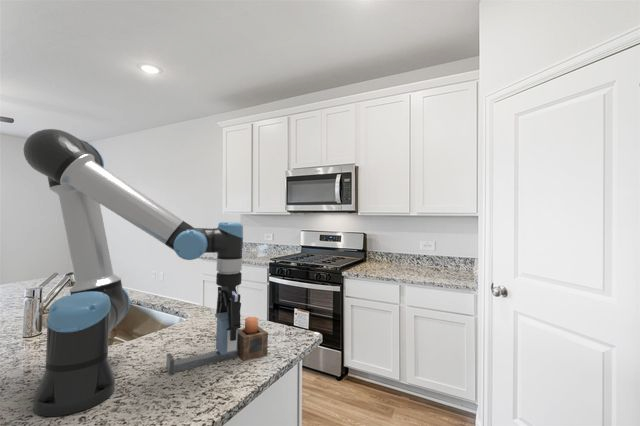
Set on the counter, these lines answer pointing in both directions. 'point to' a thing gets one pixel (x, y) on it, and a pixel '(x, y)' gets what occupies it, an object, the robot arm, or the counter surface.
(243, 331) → the brown wooden box
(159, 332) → the counter surface
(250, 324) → the button
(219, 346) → the carriage
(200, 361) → the rail
